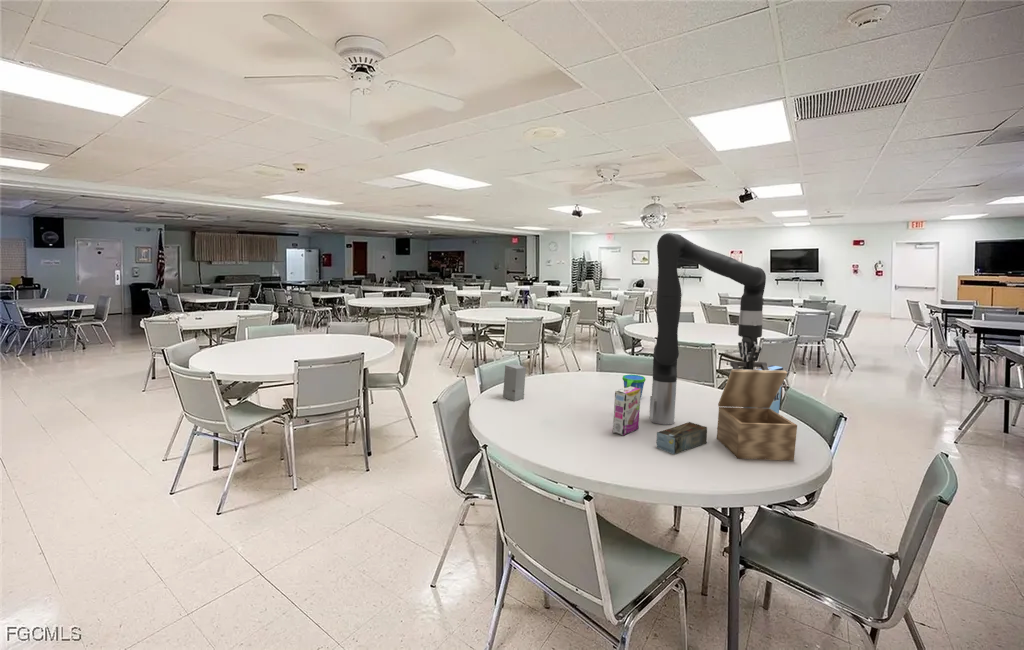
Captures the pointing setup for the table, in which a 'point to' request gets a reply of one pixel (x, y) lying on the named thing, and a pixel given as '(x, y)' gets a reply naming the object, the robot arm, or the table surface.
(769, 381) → the lid
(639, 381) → the snack cup
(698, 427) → the beverage carton
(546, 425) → the table surface
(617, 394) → the candy bar box
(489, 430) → the table surface
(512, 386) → the skincare box
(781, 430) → the wooden box
